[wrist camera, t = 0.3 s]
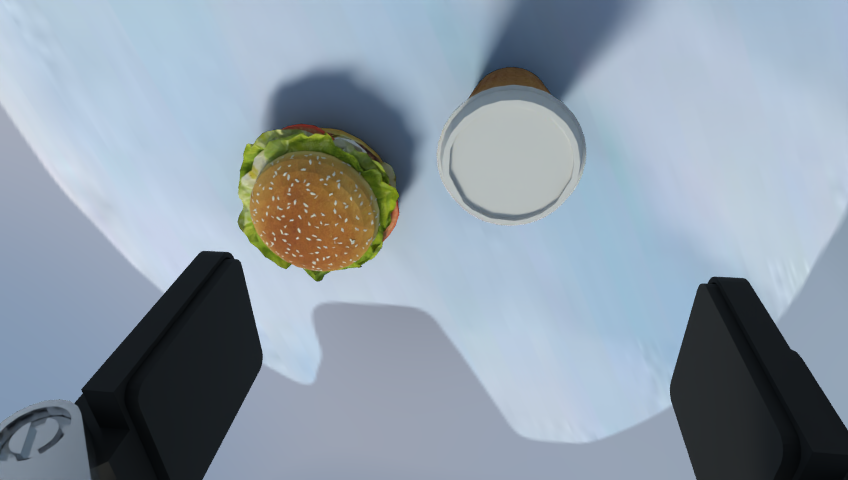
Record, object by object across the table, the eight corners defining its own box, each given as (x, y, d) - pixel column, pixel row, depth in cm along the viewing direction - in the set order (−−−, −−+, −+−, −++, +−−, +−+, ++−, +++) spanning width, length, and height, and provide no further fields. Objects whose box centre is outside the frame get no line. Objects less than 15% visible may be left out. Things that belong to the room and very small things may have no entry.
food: (291, 77, 46) (254, 108, 40) (431, 170, 49) (418, 213, 42) (229, 195, 53) (189, 238, 46) (355, 271, 56) (334, 322, 49)
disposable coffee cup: (454, 41, 43) (438, 85, 33) (580, 50, 42) (603, 98, 32) (447, 155, 48) (431, 225, 38) (559, 165, 47) (573, 238, 37)
